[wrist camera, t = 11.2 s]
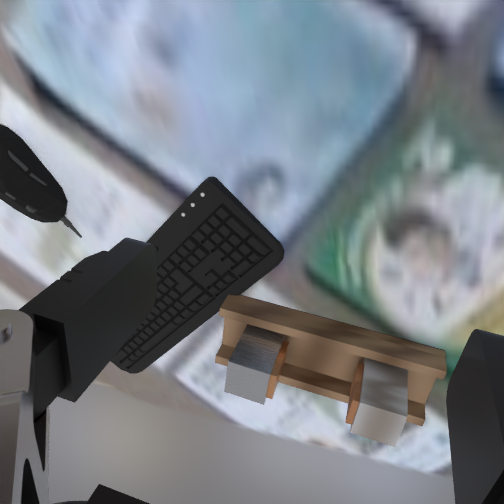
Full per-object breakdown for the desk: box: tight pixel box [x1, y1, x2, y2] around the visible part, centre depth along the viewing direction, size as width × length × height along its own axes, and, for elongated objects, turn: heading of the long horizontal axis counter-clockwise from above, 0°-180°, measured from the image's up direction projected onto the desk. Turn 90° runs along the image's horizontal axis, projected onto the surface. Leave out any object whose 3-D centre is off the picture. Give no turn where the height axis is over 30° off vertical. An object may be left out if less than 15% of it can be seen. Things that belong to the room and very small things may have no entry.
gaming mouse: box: [0, 125, 82, 238], centre depth 47 cm, size 6×15×4 cm, turn 39°
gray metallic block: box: [224, 324, 289, 405], centre depth 45 cm, size 4×5×7 cm
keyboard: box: [110, 177, 284, 373], centre depth 50 cm, size 30×11×2 cm, turn 137°
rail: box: [215, 294, 447, 447], centre depth 44 cm, size 22×8×8 cm, turn 83°
